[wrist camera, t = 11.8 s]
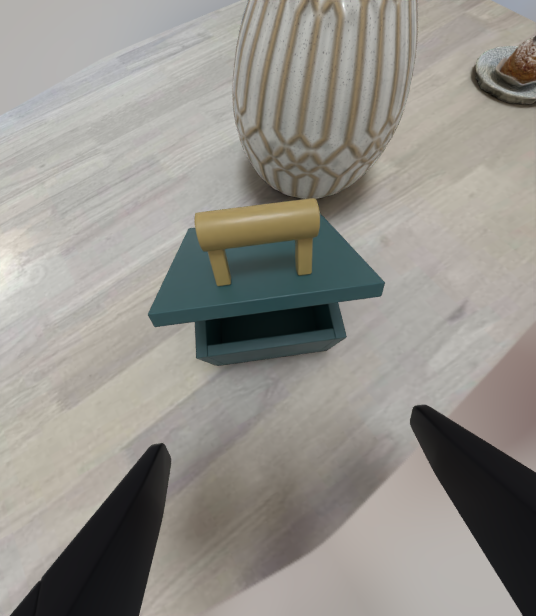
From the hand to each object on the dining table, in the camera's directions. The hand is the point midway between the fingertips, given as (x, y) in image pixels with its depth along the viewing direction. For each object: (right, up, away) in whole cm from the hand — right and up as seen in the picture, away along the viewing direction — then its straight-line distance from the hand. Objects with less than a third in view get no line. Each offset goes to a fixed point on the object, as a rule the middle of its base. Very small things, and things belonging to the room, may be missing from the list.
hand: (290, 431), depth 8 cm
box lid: (-1, +8, +7) cm, 10 cm away
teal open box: (-1, +4, +15) cm, 16 cm away
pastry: (+35, +38, +26) cm, 58 cm away
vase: (+4, +22, +21) cm, 31 cm away
